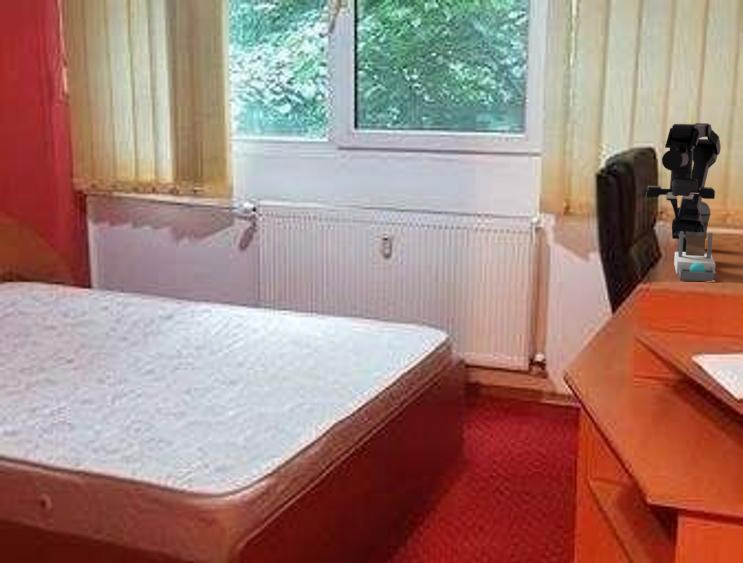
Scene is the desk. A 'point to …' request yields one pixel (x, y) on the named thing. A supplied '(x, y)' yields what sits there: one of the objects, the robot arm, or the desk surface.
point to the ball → (697, 267)
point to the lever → (695, 243)
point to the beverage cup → (704, 214)
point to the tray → (696, 275)
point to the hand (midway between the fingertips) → (677, 221)
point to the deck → (688, 260)
